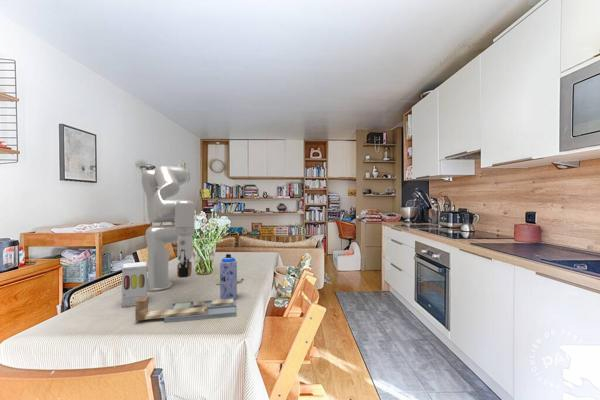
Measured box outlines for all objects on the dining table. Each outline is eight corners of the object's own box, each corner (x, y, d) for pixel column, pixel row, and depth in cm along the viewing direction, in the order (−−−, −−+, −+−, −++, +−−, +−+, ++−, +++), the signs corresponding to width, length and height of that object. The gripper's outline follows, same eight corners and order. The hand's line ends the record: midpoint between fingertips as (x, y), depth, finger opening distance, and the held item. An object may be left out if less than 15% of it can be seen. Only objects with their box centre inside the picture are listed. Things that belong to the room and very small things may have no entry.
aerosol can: (216, 297, 134) (216, 254, 134) (231, 293, 139) (231, 251, 139) (225, 301, 128) (225, 256, 128) (240, 297, 134) (240, 254, 134)
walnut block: (177, 276, 116) (177, 265, 116) (179, 273, 120) (179, 262, 120) (190, 276, 117) (190, 264, 117) (191, 273, 122) (191, 261, 121)
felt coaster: (173, 310, 116) (173, 309, 116) (175, 305, 122) (175, 303, 122) (188, 309, 118) (188, 307, 118) (190, 303, 123) (190, 302, 123)
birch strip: (135, 320, 106) (135, 301, 106) (139, 315, 111) (139, 296, 111) (206, 314, 112) (206, 296, 112) (207, 309, 117) (207, 292, 117)
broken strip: (192, 308, 119) (192, 305, 119) (193, 304, 123) (193, 301, 123) (233, 305, 122) (233, 302, 122) (233, 301, 127) (233, 298, 127)
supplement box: (121, 307, 121) (121, 267, 121) (123, 300, 129) (122, 263, 129) (147, 303, 126) (147, 265, 125) (147, 297, 134) (147, 260, 134)
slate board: (164, 322, 107) (163, 318, 107) (172, 306, 123) (172, 303, 123) (235, 316, 113) (235, 312, 113) (235, 301, 129) (235, 298, 129)
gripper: (191, 233, 111) (191, 281, 111) (196, 228, 127) (196, 269, 128) (170, 234, 109) (170, 282, 110) (178, 228, 126) (178, 270, 126)
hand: (184, 274), depth 119 cm, fingers closed on walnut block, 4 cm apart
